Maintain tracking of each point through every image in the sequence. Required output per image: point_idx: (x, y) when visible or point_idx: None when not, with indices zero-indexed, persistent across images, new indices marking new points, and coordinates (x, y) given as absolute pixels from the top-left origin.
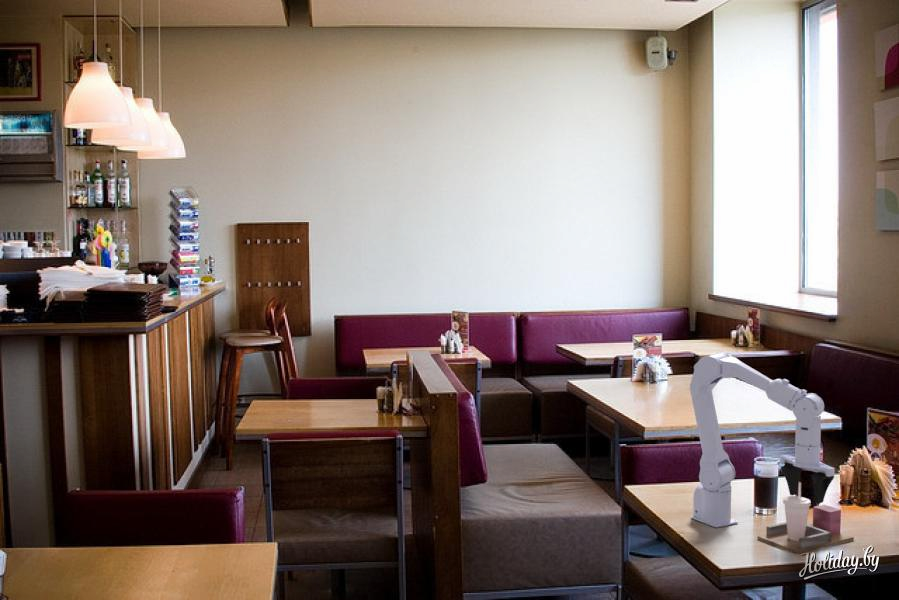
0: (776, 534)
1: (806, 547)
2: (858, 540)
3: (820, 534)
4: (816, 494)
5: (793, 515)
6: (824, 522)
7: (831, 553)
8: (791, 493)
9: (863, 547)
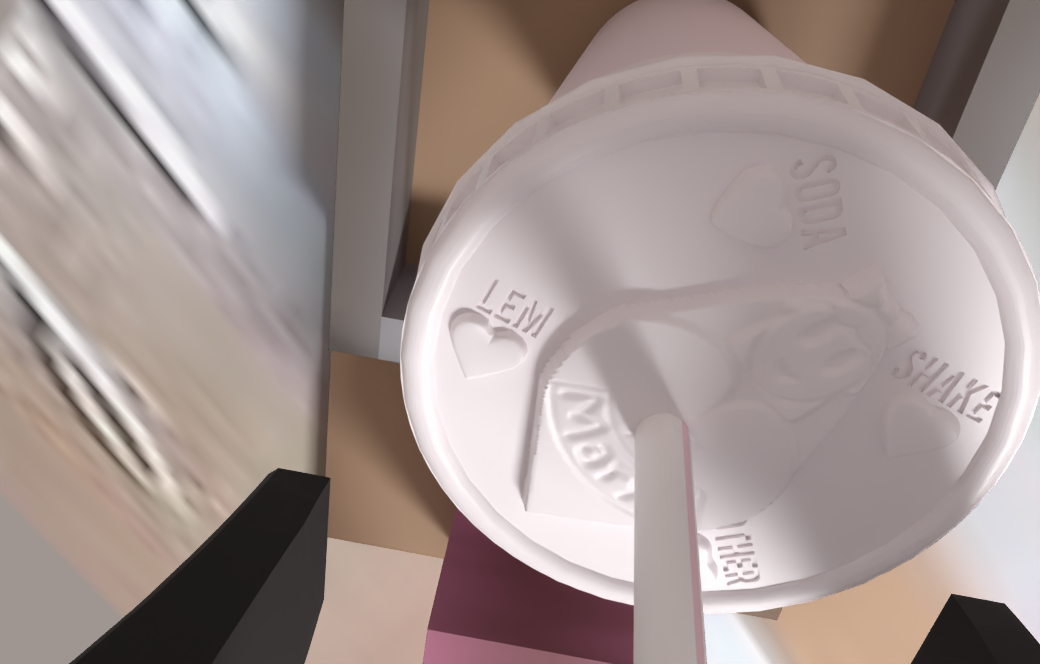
0: (945, 24)
1: None
2: None
3: (359, 202)
4: (185, 595)
5: (645, 52)
6: None
7: (181, 34)
8: (975, 620)
9: (164, 422)
